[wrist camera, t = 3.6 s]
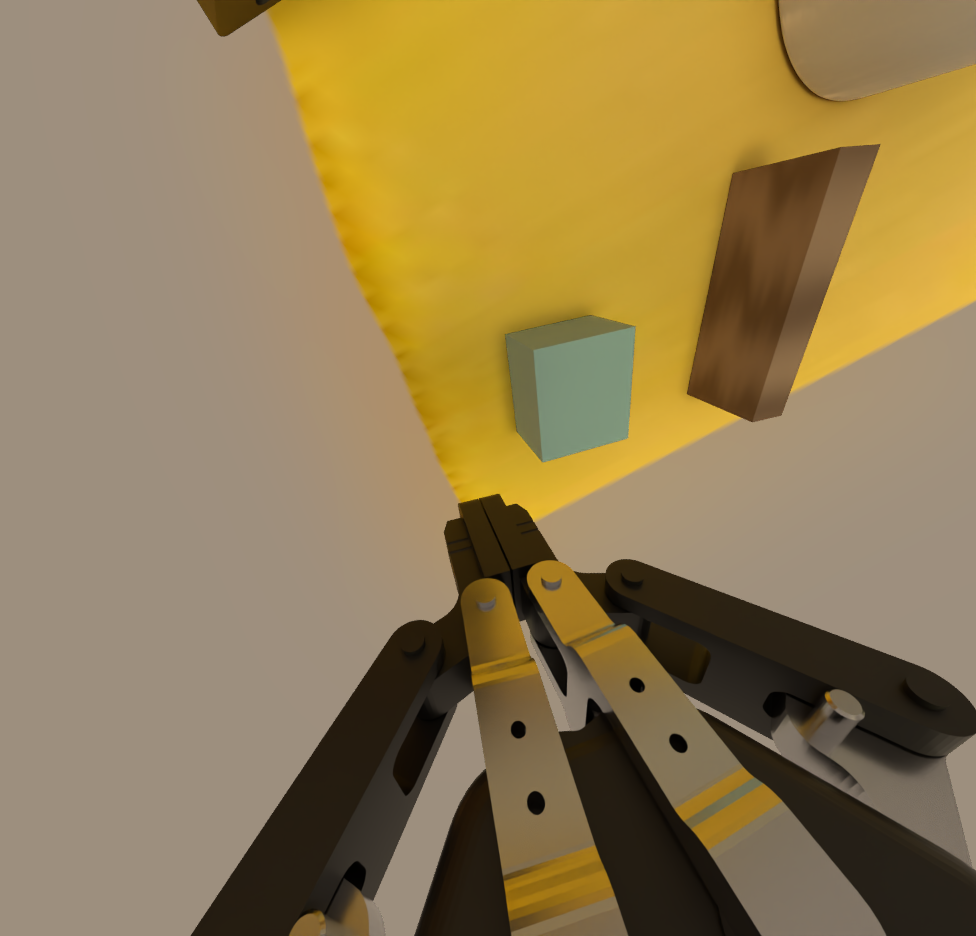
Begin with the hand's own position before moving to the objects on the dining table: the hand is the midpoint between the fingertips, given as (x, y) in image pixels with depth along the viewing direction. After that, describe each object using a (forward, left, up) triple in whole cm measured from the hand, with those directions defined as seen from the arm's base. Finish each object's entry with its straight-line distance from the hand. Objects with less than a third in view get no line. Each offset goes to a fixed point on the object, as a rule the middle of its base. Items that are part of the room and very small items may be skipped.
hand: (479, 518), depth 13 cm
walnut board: (-4, +22, -13) cm, 25 cm away
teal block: (0, +9, -13) cm, 16 cm away
